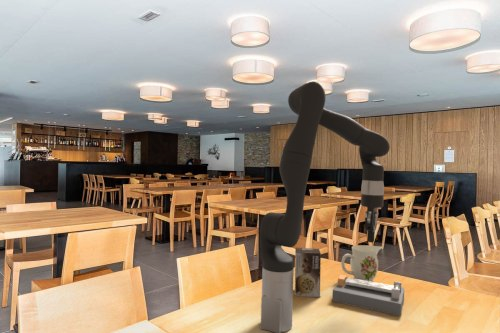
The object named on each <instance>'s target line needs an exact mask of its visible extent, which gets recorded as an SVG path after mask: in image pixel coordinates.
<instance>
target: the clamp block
mask: <svg viewBox="0 0 500 333" xmlns="http://www.w3.org/2000/svg"><path fill="white" fill-rule="evenodd" d="M348 277H349V276H347V278H348ZM402 283H403V282H402V281H393V285H394V287H395V285H399V286H400V289H394V288H392V293H390V292H384V291H379V290H373V289H368V288H363V287H357V286H352V285H346V284H345V285H344V286H339V285H338V283H336V285H335V286H334V287H333V289H332V300H331V301H332V302H334V303H338V304H343V305H347V306H348V305H349V306H353V307H357V308H361V309H366V310H370V311H375V312H380V313H383V314H384V313H385V314H388V315H394V316H399V317H401V315H402V311H403V306H404V301H405V287H403V286H402V285H403V284H402Z"/></svg>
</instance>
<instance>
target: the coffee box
mask: <svg viewBox="0 0 500 333" xmlns="http://www.w3.org/2000/svg"><path fill="white" fill-rule="evenodd" d="M294 252H295V254H294V255H295V256H294V258H295V260H294V296H295V297H308V298H309V297H310V298H311V297H312V298H313V297H314V298H321V269H322V268H321V267H322V266H321V264H322V263H321V261H322V260H321V258H322V256H321V255H322V253H321V251H320V249H319V248H311V247H310V248H309V247H307V248H306V247H296V248H295V251H294Z"/></svg>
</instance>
